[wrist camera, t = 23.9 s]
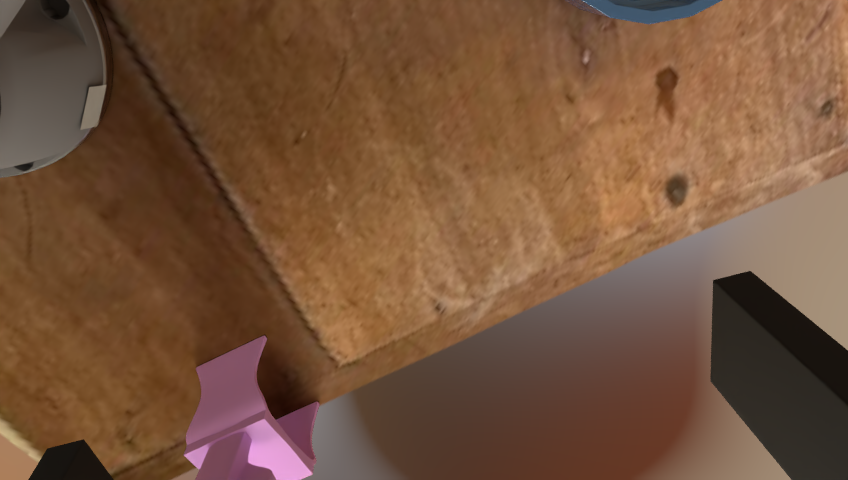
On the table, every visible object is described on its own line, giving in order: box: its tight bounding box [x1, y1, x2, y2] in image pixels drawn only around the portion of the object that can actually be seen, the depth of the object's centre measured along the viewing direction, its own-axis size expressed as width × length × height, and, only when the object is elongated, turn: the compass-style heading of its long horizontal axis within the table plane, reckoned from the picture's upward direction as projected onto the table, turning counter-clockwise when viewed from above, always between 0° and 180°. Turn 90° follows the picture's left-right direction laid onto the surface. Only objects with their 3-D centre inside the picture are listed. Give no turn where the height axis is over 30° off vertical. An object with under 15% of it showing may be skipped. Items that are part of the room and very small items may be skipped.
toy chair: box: [184, 335, 319, 480], centre depth 39 cm, size 8×9×15 cm
